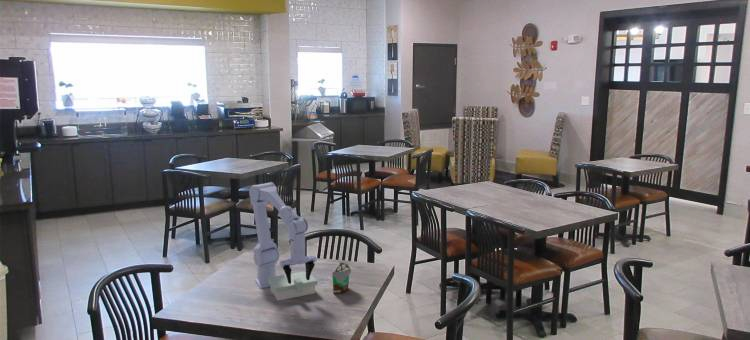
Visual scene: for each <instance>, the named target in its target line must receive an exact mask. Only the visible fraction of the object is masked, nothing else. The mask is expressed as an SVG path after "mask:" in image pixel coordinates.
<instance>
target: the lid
mask: <svg viewBox="0 0 750 340" xmlns="http://www.w3.org/2000/svg"><path fill="white" fill-rule="evenodd" d="M268 283H269V284H270V286H271V287H272V288H273V289H274V291H275V292H281V291H286V290H292V289H295V290H296V292H297V293H298V292H303V287H308V286H313V285H315V286H317V285H318V279H316V277H314V276H313V275H312V274H311V275H310V279H309V280H307V279H306V270H305V271H299V272H294V273H291V284H289V283H288V280H287V276H286V274H283V275H276V276H275V277H270V278H268Z"/></svg>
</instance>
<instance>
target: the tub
mask: <svg viewBox="0 0 750 340" xmlns="http://www.w3.org/2000/svg"><path fill="white" fill-rule="evenodd" d="M269 288H270V291H269V292H270V294H272V296H273V297H274V298H275V300H276V301H283V300H288V299H294V298H298V297H303V296H308V295H313V294H316V285H313V286H308V287H303V292H298V293H297V292H296V290H295V289H292V290H286V291H281V292H275V291H274V289H273V288H272V287H271V286H270V287H269Z"/></svg>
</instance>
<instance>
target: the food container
mask: <svg viewBox="0 0 750 340" xmlns="http://www.w3.org/2000/svg"><path fill="white" fill-rule="evenodd" d="M351 273H352V269H351V266H350V265H349V264H348V263H345V262H339V265H338V267H336V269H335V271H332V273H331V274H332V288H333V289H332V290H333V291H332V292H333V295H341V294H344V293H347V292H348V291H349V284H350V282H349V281H350V274H351Z"/></svg>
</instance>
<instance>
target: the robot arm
mask: <svg viewBox="0 0 750 340" xmlns="http://www.w3.org/2000/svg"><path fill="white" fill-rule="evenodd" d="M248 194H249V200H250V204H251V205H252V208H253V210H252V211H253V214H254V221H255V228H256V233H257V234H256V235H257V241H258V243H257V244H256V246H254V248H253V262H254V263H255V265H257V266H256V271H257V272H256V275H257V277H256V279H255V283H256V284H257V285H258V286H259V288H260V289H265V288H270V284H269V283H268V278H270V277H275V276H277V275H276V272H277V271H276V265H277V263H278V261H279V259H280V255H281V254H280V251H279V250H278V246H277V244H276V243H275V242H273V241H272V239H271V231H270V224H269V219H268V213H267V206H266V205H267V204H268V203H271V205H272V206H273V207H275V209H276V210H277V211H278V216H279V218H280V220H282V221H283V223H285V225H286V230H287V232H288V238H289V239H290V258H287V259H284V260H280V261H279V267H280V268H282V269H283V271H284V273H285V274H284V275H286V276H287V280H288V283H289V284H291V274H292V268H291V266H296V265H304V266H305V271H306V279H307V280H309V279H310V275H312V272H313V269H314V268H315V263H316V262H317V257H316V256H315V255H311V256H310V255H308V256H307V255H306V232H307V231H308V229H309V224H308V222H307V221H308V220H306V218H305V217H301V216H299V215H298V214H297V213H296V212H295V211H294V209H293V208H292V206H289V205H286V203H284V201H283V199H282V198H281V196H280V195H279V194H278V187H277V186H276V184H275V183H274V182H272V181H270V182H266V183H260V184H254V185H251V186H250V188H249V190H248Z"/></svg>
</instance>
